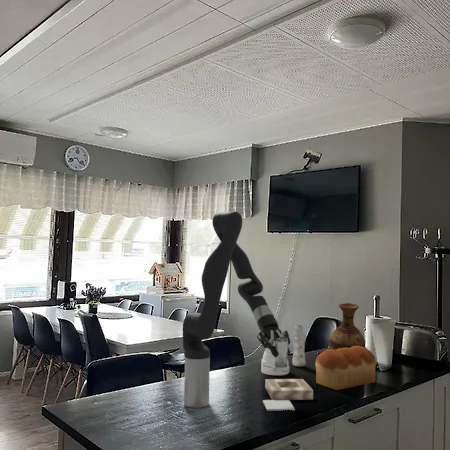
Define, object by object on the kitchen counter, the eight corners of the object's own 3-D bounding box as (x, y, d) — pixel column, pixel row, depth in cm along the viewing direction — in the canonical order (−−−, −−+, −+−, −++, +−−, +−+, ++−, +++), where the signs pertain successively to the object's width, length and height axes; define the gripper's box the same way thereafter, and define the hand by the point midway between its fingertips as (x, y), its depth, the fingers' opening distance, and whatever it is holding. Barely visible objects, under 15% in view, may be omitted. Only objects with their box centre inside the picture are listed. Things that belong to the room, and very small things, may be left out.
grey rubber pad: (267, 410, 164) (267, 409, 164) (262, 401, 174) (262, 400, 174) (294, 410, 165) (294, 408, 165) (288, 401, 175) (288, 399, 175)
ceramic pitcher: (329, 362, 239) (329, 304, 240) (327, 354, 258) (327, 300, 260) (368, 364, 235) (368, 305, 237) (363, 356, 255) (363, 301, 257)
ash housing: (272, 399, 176) (272, 390, 176) (265, 387, 192) (265, 379, 192) (313, 399, 177) (313, 390, 178) (302, 387, 193) (302, 379, 193)
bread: (336, 390, 190) (336, 354, 191) (314, 383, 200) (315, 349, 201) (376, 382, 203) (376, 348, 204) (354, 375, 214) (354, 343, 215)
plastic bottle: (296, 364, 234) (296, 324, 235) (308, 366, 230) (308, 325, 231) (289, 366, 229) (289, 325, 230) (301, 368, 225) (301, 327, 226)
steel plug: (273, 372, 171) (274, 339, 172) (270, 367, 177) (271, 336, 178) (291, 372, 171) (291, 339, 172) (287, 368, 178) (287, 336, 179)
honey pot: (270, 367, 227) (270, 330, 229) (293, 371, 220) (293, 333, 221) (256, 372, 217) (256, 333, 218) (280, 376, 210) (280, 336, 211)
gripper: (254, 314, 179) (271, 351, 168) (283, 312, 187) (302, 348, 175) (246, 325, 184) (262, 362, 172) (275, 324, 191) (293, 359, 179)
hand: (282, 355), depth 174 cm, fingers closed on steel plug, 5 cm apart
